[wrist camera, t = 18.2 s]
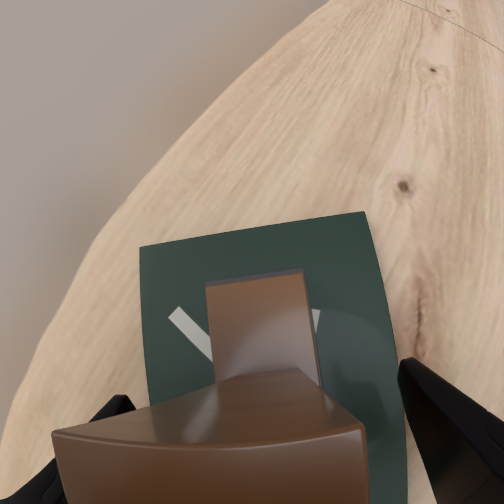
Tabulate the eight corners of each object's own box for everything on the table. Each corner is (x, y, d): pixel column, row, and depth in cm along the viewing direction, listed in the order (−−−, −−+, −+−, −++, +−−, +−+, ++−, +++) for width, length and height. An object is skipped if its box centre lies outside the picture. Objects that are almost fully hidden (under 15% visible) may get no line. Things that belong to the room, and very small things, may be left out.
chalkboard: (403, 515, 12) (407, 520, 11) (184, 541, 13) (180, 547, 12) (361, 216, 19) (364, 210, 18) (144, 251, 19) (138, 246, 19)
